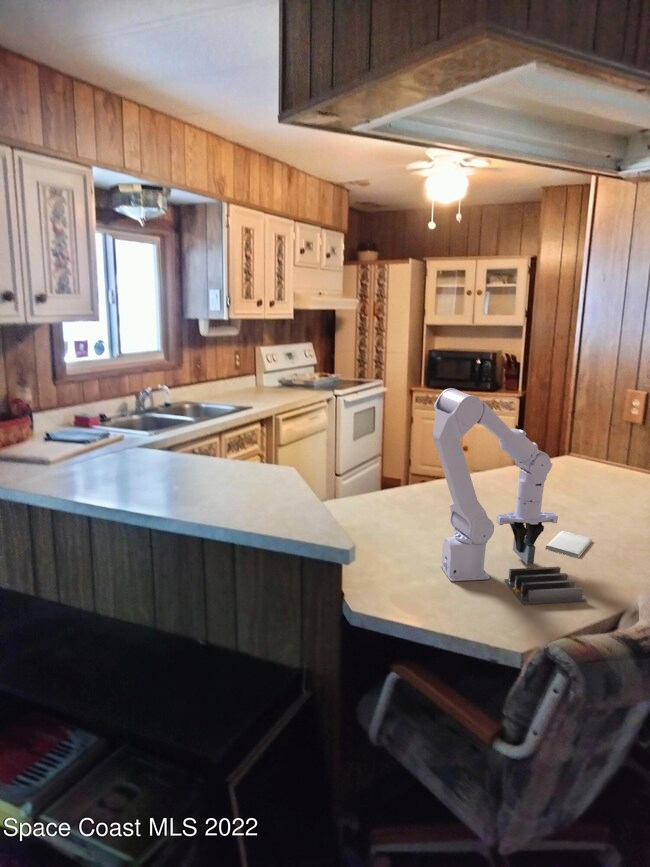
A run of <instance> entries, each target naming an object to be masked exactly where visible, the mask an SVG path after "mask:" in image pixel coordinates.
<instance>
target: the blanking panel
mask: <svg viewBox="0 0 650 867" xmlns="http://www.w3.org/2000/svg"><path fill="white" fill-rule="evenodd" d="M512 551H513V552H514V553H515V554H516V555H517V556H518V557H519V558H520V559H521V560H522V561H523V563H525V564H526V565H529V566H531V565H534V564H535V556H536V555H535V554H536V546H535V544H534V545H533V544H532V543H531V542H530V541H529V540H528V539H527V538H525V539H524V547H523V552H522V553H520V552H519V551H518V550H517V549H516V542H515V537H513V544H512Z"/></svg>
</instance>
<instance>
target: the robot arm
mask: <svg viewBox="0 0 650 867" xmlns="http://www.w3.org/2000/svg"><path fill="white" fill-rule="evenodd" d="M481 399H482V398H479V397H478V396H476V395H472V394H469V393H465V392H462V391H460V390H458V389H456V388H452V387H450V388H447V389H444V390H443V391H442V392H441V393H440V394H439V395H438V397H437V399H436V401H435V402H434V404H433V409H434V412H435V416H434V422H433V430H432V438H433V442H434V446H435V449H436V451H437V452H436V453H437V456H438V457H439V461H440V462H439V463H440V465H441V468H442V470H443V475H444V478H445V480H446V483H447V487H448V490H449V493H450V496H451V499H452V502H451V503H450V505H449V509H450V516H449V521H450V524H451V526H452V527H453V528H454V530H453V533H454V535H453V536H450V537H445V538H444V540H443V542H442V552H441V553H442V554H441V563H440V564H439V565H440V567H441V569H442V571H443V572H444V573H445V576H447V578H448V579H449V581H450V582H461V581H465V582H466V581H481V580H484V581H485V580H490V579H491V577H490V575H489V574H488V573H487V571H486V570H485V559H486V558H485V557H486V551H487V550H486V549H487V543H488V541H489V540H490V539H491V538H492V536H493V535H494V532H495V524H494V522H493V520H492V519H490V518H489V517H488V514H487V512H486V510H485V508H484V507H483V505H482V504H481V503H480V502H479V500H478V498H477V494H476V490H475V488H474V483H473V480H472V477H471V473H470V470H469V467H468V463H467V461H466V460H467V459H466V457H465V453H464V450H463V447H462V444H461V438H463V437H464V436H465V435H466V434H467V433H468V432H469V431H470V430H471V429H472V428H473V427H474V426H475V425H476V424H479V425H482V427H484V428H485V429H486V430H487V431H489V432H490V433H491V434H492V435H494V436H495V437H496V438H497V439H498V445H499V447H500V448H499V449H501V450H502V451H503V452H505V454H506V455H508V456H509V457H510V458H511V459H512V460H513V461H514V465H515V466H516V467H518V468H519V473H518V474H519V475H518V480H517V481H518V484H517V491H516V498H515V499H516V501H515V510H514V511H512V512H507V513H502V514H501V513H500V514H496V519H495V520H496V521H495V522H496V524H498V525H499V526H504V525H509V526H510V528H511V530H512V534H513V536H514V537H515V542H516V549H517V550H518V551H519V552H520V553H522V552H523V547H524V539H525V538H527V539H528V540H529V541H530V542H531V543H532V544H533V545H534V546H535V544H536V542H537V539H538V538H539V537H540V535H541V534H542V533H543V532H544V529H545V526H544V525H543V523H551V524H558V521H559V520H558V518H559V515H557V513H555V512H543V511H542V503H543V496H544V487H545V482H546V481H547V477H548V474H549V473H550V471H551V469H552V467H553V463H552V462H551V458H550V455H549V454H548V453H546V452H544V451H542V450H539V448H538V447H539V445H538V444H537V443H536V442H534V441H531V440H530V439H529V438H528V437H527V434H528V433H527V432H525V430H524V429H523V430H522V429H517V428H510V427H509V426H508V425H507V424H506V423H505V422H504V421H503V420H502V418H500V416H498V415H497V413H495V411H494V410H493V409H491V407H490V406H489V404H488V403H486V402H484V401H482V400H481ZM514 537H513V538H514Z"/></svg>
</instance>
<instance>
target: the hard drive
mask: <svg viewBox="0 0 650 867" xmlns="http://www.w3.org/2000/svg"><path fill="white" fill-rule="evenodd" d="M592 541H593V538H591V537H588V536H585V535H580V534H578V533H573V532H568V531H564V530H560V531H559V532H558V533H557V534H556V535H555V536H554V537H553V538H552V539H551V540H550V541H549V542H548V543H547V544H546V545H545V547H544V548H545V550H547V549H548V551H551V550H552V551H551V552H555V551H556V552H555V553H558V552H559V554H562V553H563V555H565V554H566V556H570V557H573V558H576V559H579V558H580V556H581V555H582V554H583V553H584V552H585V550H586V549H587V548H588V547H589V546H590V545H591V543H592Z"/></svg>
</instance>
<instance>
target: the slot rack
mask: <svg viewBox="0 0 650 867" xmlns="http://www.w3.org/2000/svg"><path fill="white" fill-rule="evenodd" d="M568 575H569V574H568V573H566V572H565V573H563V572H562V573H561V567H560V566H544V567H543V566H542V567H527V568H526V567H524V568H509V570H508V578H504V580H503V581H504V583H505V584H506V585H507V587H509V588H510V590H511V591H512V592H513V593H514V595H515V596H516V597H517V598H518V599H519V602H521V603H522V605H524V606H529V605H548V604H564V603H565V604H566V603H581V602H587V601H586V600H587V599H586V598H585V597H584V596H583V591H584V588H583V587H580V586H578V587H577V586H576V587H575V585H576V581H575V580H574V579H569V580H568Z"/></svg>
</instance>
